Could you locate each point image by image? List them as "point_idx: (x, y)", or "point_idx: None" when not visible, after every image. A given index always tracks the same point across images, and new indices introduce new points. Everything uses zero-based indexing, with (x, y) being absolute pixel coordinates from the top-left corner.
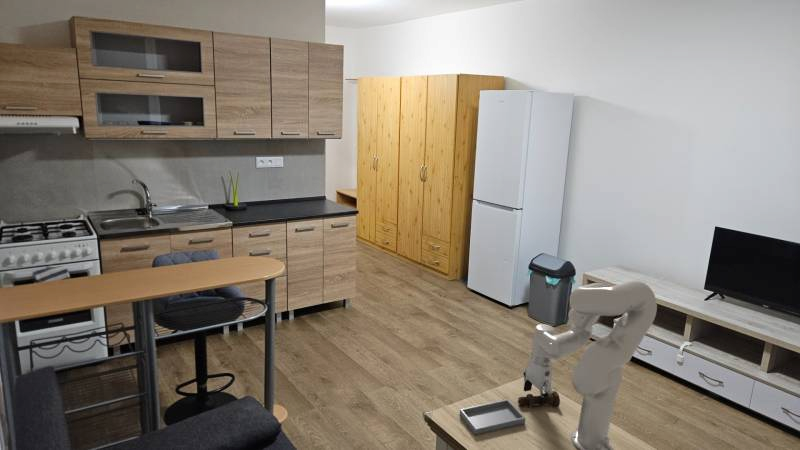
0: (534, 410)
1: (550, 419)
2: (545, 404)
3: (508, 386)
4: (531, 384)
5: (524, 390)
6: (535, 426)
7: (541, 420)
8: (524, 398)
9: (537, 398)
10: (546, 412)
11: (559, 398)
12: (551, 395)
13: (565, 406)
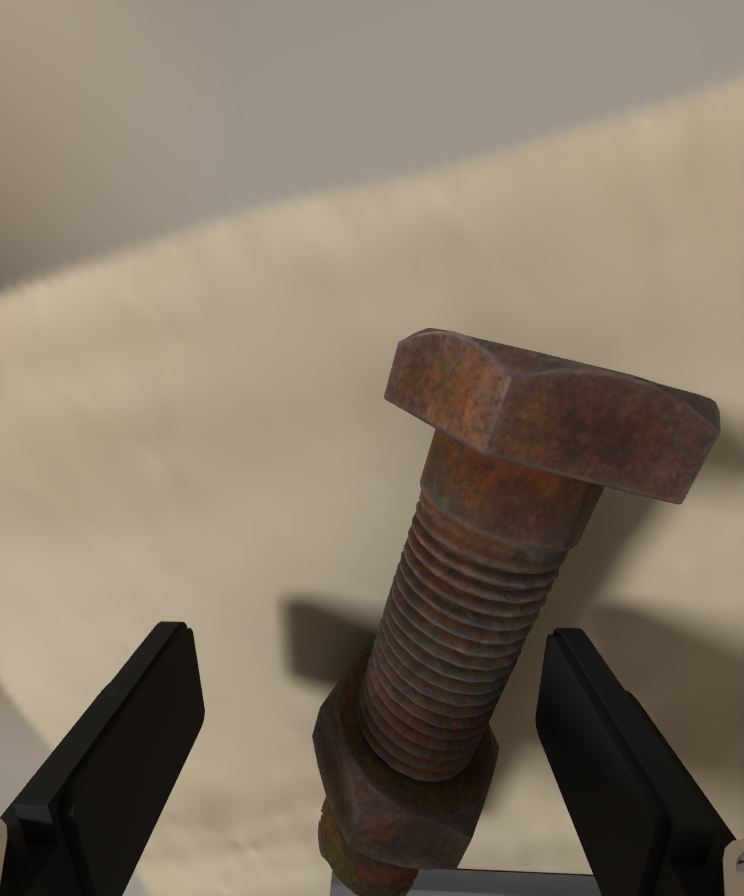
0: (512, 698)
1: (734, 637)
2: (576, 633)
3: (24, 703)
4: (122, 738)
5: (192, 732)
6: (727, 822)
7: (689, 729)
8: (398, 877)
9: (466, 735)
10: (606, 602)
11: (712, 405)
12: (532, 506)
13: (634, 247)
